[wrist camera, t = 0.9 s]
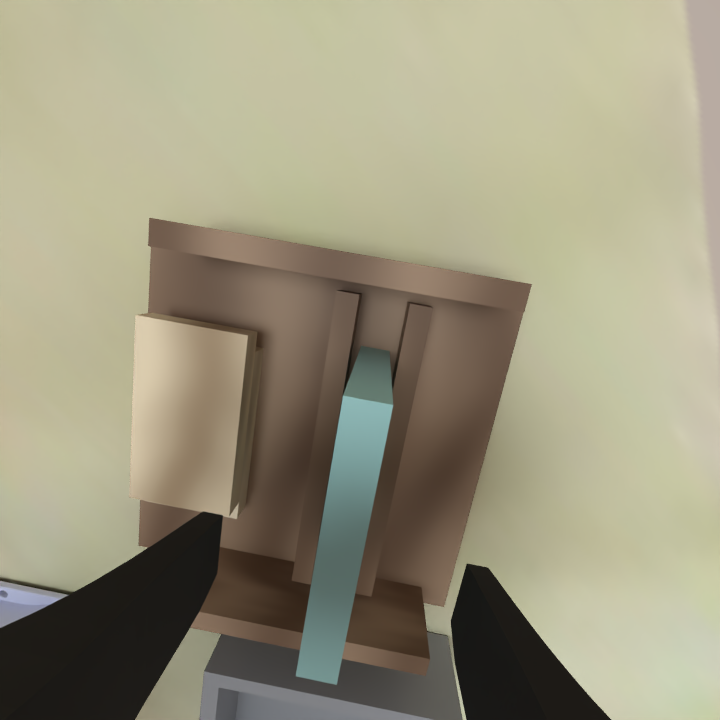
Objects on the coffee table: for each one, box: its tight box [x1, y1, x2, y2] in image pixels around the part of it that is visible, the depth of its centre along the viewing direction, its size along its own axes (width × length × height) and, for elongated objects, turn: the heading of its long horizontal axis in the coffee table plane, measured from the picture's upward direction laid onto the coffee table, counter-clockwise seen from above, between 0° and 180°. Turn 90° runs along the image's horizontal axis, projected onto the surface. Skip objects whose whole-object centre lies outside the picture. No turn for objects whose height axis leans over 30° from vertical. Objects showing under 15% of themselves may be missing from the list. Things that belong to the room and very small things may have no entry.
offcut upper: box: [129, 313, 257, 517], centre depth 17 cm, size 5×9×1 cm, turn 170°
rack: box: [139, 218, 532, 676], centre depth 17 cm, size 18×18×5 cm
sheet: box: [296, 346, 393, 685], centre depth 15 cm, size 1×10×8 cm, turn 170°
